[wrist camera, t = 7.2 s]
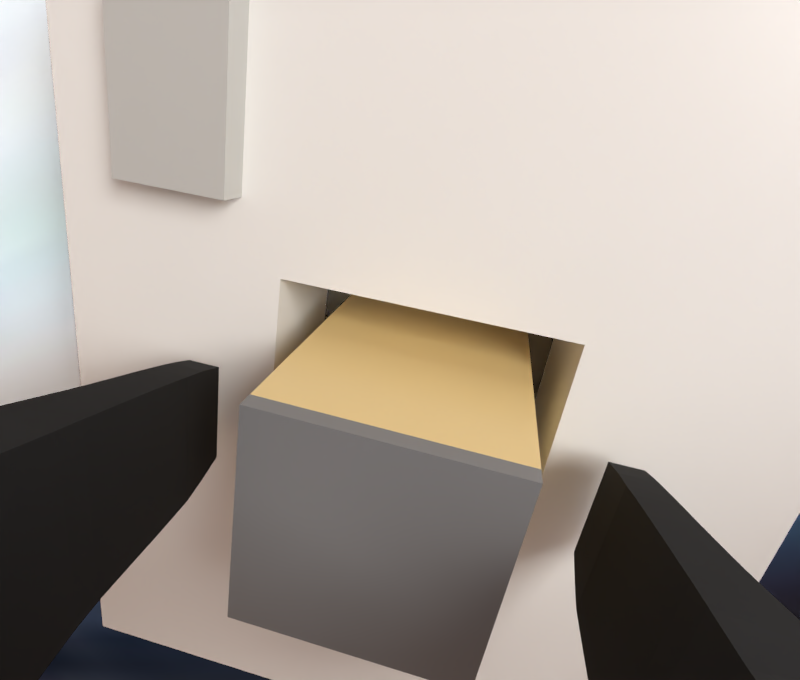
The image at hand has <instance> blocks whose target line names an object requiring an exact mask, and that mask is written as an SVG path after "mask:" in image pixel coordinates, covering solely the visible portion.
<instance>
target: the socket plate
mask: <svg viewBox="0 0 800 680" xmlns="http://www.w3.org/2000/svg"><path fill="white" fill-rule="evenodd" d="M46 10H47V21H48V32H49V43H50V54H51V65H52V76H53V87H54V98H55V109H56V120H57V131H58V142H59V152H60V163H61V174H62V185H63V196H64V207H65V218H66V229H67V240H68V251H69V262H70V273H71V284H72V294H73V305H74V316H75V327H76V338H77V349H78V360H79V371H80V382H81V386H84V385H88V384H92V383H96V382H99V381H103V380H107V379H110V378H114V377H118V376H122V375H125V374H129V373H133V372H137V371H140V370H144V369H148V368H152V367H156V366H160V365H164V364H169V363H174V362H179V361H186V360H192V361H196V362H200V363H204V364H208V365H212V366H216V367H219V385H218V424H217V457H216V459H215V460H214V462H213V464H212V465H211V467H210V468H209V470H208V471H207V473H206V474H205V476H204V477H203V479H202V481H201V482H200V483H199V485H198V486H197V488H196V489H195V491H194V492H193V493H192V495H191V496H190V498H189V499H188V501H187V502H186V503H185V504H184V505H183V506H182V508H181V509H180V510H179V511H178V512H177V513H176V515H175V516H174V517H173V518H172V519H171V520H170V521H169V523H168V524H167V525H166V526H165V527H164V528H163V529H162V531H161V532H160V533H159V534H158V535H157V536H156V537H155V538H154V540H153V541H152V542H151V543H150V544H149V545H148V546H147V547H146V549H145V550H144V551H143V552H142V553H141V554H140V555H139V556H138V557H137V559H136V560H135V561H134V562H133V563H132V564H131V565H130V566H129V568H128V569H127V570H126V571H125V572H124V573H123V574H122V575H121V577H120V578H119V579H118V580H117V581H116V582H115V583H114V584H113V585H112V587H111V588H110V589H109V590H108V591H107V592H106V593H105V594H104V596H103V597H102V598H101V599H100V600H101V611H102V622H103V626H105V627H108V628H111V629H114V630H117V631H120V632H123V633H127V634H130V635H133V636H136V637H139V638H142V639H146V640H149V641H152V642H155V643H158V644H161V645H164V646H168V647H171V648H174V649H177V650H180V651H183V652H187V653H190V654H193V655H196V656H199V657H202V658H205V659H209V660H212V661H215V662H218V663H221V664H224V665H228V666H231V667H234V668H237V669H240V670H243V671H246V672H250V673H253V674H256V675H259V676H262V677H265V678H269V679H272V680H427V679H424V678H421V677H418V676H414V675H411V674H408V673H405V672H402V671H398V670H395V669H392V668H389V667H386V666H382V665H379V664H376V663H373V662H370V661H366V660H363V659H360V658H357V657H354V656H350V655H347V654H344V653H341V652H338V651H335V650H331V649H328V648H325V647H322V646H319V645H315V644H312V643H309V642H306V641H303V640H299V639H296V638H293V637H290V636H287V635H283V634H280V633H277V632H274V631H271V630H267V629H264V628H261V627H258V626H255V625H251V624H248V623H245V622H242V621H239V620H236V619H232V618H229V617H227V616H228V598H229V580H230V563H231V545H232V527H233V509H234V492H235V474H236V456H237V439H238V421H239V404H240V403H241V402H242V401H243V400H244V399H245V398H247V397H248V396H249V395H250V394H251V393H252V392H253V391H254V390H255V389H256V388H257V387H258V386H259V385H260V384H261V383H262V382H263V381H264V380H265V379H266V378H267V377H268V376H269V375H270V374H271V373H272V372H273V371H274V370H275V369H276V368H277V367H278V366H279V365H280V364H281V363H282V362H283V361H284V360H285V359H286V358H287V357H288V356H289V355H290V354H291V353H292V352H293V351H294V350H295V349H296V348H297V347H298V346H300V345H301V344H302V343H303V342H304V341H305V340H306V339H307V338H308V337H309V336H310V335H311V334H312V333H313V332H314V331H315V330H316V329H317V328H318V327H319V326H320V325H321V324H322V323H323V322H324V321H325V313H326V303H327V294H328V289H329V290H334V291H339V292H343V293H348V294H353V295H357V296H362V297H366V298H371V299H376V300H380V301H385V302H389V303H394V304H399V305H403V306H408V307H412V308H417V309H422V310H426V311H431V312H435V313H440V314H445V315H449V316H454V317H458V318H463V319H468V320H472V321H477V322H481V323H486V324H491V325H495V326H500V327H504V328H509V329H514V330H518V331H523V332H527V333H532V334H537V335H541V336H546V337H550V338H554V339H553V343H552V346H551V349H550V353H549V356H548V359H547V363H546V366H545V369H544V373H543V376H542V379H541V383H540V386H539V389H538V393H537V396H536V399H535V410H536V420H537V430H538V440H539V450H540V460H541V470H542V480H543V485H542V488H541V491H540V493H539V496H538V499H537V502H536V505H535V508H534V511H533V514H532V517H531V520H530V522H529V525H528V528H527V531H526V534H525V537H524V540H523V543H522V546H521V548H520V551H519V554H518V557H517V560H516V563H515V566H514V569H513V572H512V575H511V577H510V580H509V583H508V586H507V589H506V592H505V595H504V598H503V601H502V604H501V606H500V609H499V612H498V615H497V618H496V621H495V624H494V627H493V630H492V633H491V635H490V638H489V641H488V644H487V647H486V650H485V653H484V656H483V659H482V662H481V664H480V667H479V670H478V673H477V676H476V679H475V680H588V677H587V671H586V665H585V659H584V654H583V648H582V642H581V636H580V630H579V624H578V617H577V611H576V596H575V574H574V550H575V548H576V545H577V543H578V540H579V537H580V535H581V532H582V529H583V527H584V524H585V522H586V519H587V516H588V514H589V511H590V508H591V506H592V503H593V501H594V498H595V495H596V493H597V490H598V488H599V485H600V482H601V480H602V477H603V474H604V472H605V469H606V467H607V464H608V462H612V463H616V464H620V465H624V466H628V467H632V468H636V469H641V470H645V471H646V472H647V473H648V474H650V475H651V476H652V477H653V478H654V479H655V480H656V481H657V482H659V483H660V484H661V485H662V486H663V487H664V488H665V489H666V490H667V491H668V492H669V493H670V494H671V495H672V496H673V497H674V498H675V499H676V500H677V501H678V502H679V503H680V504H681V505H682V506H683V507H684V508H685V509H686V510H687V511H688V512H689V514H690V515H691V516H692V517H693V518H694V519H695V520H696V521H697V522H698V523H699V524H700V525H701V526H702V527H703V528H704V529H705V530H706V531H707V532H708V533H709V534H710V535H711V536H712V537H713V538H714V539H715V540H716V541H717V542H718V543H719V544H720V545H721V546H722V547H723V548H724V549H725V550H726V551H727V552H728V553H729V554H730V555H731V556H732V557H733V558H734V559H735V560H736V561H737V562H738V563H739V564H740V565H741V566H742V567H743V568H744V569H745V570H746V571H747V572H748V573H750V574H751V575H752V576H753V577H754V578H755V579H756V580H757V581H758V582H759V581H760V580H761V578H762V576H763V575H764V573H765V571H766V569H767V568H768V566H769V564H770V563H771V561H772V559H773V557H774V556H775V554H776V552H777V551H778V549H779V547H780V545H781V544H782V542H783V540H784V539H785V537H786V535H787V533H788V532H789V530H790V528H791V527H792V525H793V523H794V521H795V520H796V518H797V516H798V515H799V513H800V0H46Z"/></svg>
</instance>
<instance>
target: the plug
mask: <svg viewBox="0 0 800 680" xmlns="http://www.w3.org/2000/svg"><path fill="white" fill-rule="evenodd" d="M542 485H543V480H542V470H541V460H540V450H539V440H538V430H537V420H536V410H535V400H534V390H533V380H532V370H531V360H530V349H529V339H528V333H527V332H523V331H518V330H514V329H509V328H504V327H500V326H495V325H491V324H486V323H481V322H477V321H472V320H468V319H463V318H458V317H454V316H449V315H445V314H440V313H435V312H431V311H426V310H422V309H417V308H412V307H408V306H403V305H399V304H394V303H389V302H385V301H380V300H376V299H371V298H366V297H362V296H357V295H353V294H351V295H350V296H349V297H348V298H347V299H346V300H345V301H344V302H343V303H342V304H341V305H340V306H339V307H338V308H337V309H336V310H335V311H334V312H333V313H332V314H331V315H330V316H329V317H328V318H327V319H326V320H325V321H324V322H323V323H322V324H321V325H320V326H319V327H318V328H317V329H316V330H315V331H314V332H313V333H312V334H311V335H310V336H309V337H308V338H307V339H306V340H305V341H304V342H303V343H302V344H301V345H300V346H298V347H297V348H296V349H295V350H294V351H293V352H292V353H291V354H290V355H289V356H288V357H287V358H286V359H285V360H284V361H283V362H282V363H281V364H280V365H279V366H278V367H277V368H276V369H275V370H274V371H273V372H272V373H271V374H270V375H269V376H268V377H267V378H266V379H265V380H264V381H263V382H262V383H261V384H260V385H259V386H258V387H257V388H256V389H255V390H254V391H253V392H252V393H251V394H250V395H249V396H248V397H247V398H245V399H244V400H243V401H242V402H241V403H240V404H239V421H238V439H237V456H236V474H235V492H234V509H233V527H232V545H231V563H230V580H229V598H228V616H227V617H229V618H232V619H236V620H239V621H242V622H245V623H248V624H251V625H255V626H258V627H261V628H264V629H267V630H271V631H274V632H277V633H280V634H283V635H287V636H290V637H293V638H296V639H299V640H303V641H306V642H309V643H312V644H315V645H319V646H322V647H325V648H328V649H331V650H335V651H338V652H341V653H344V654H347V655H350V656H354V657H357V658H360V659H363V660H366V661H370V662H373V663H376V664H379V665H382V666H386V667H389V668H392V669H395V670H398V671H402V672H405V673H408V674H411V675H414V676H418V677H421V678H424V679H427V680H475V679H476V676H477V673H478V670H479V667H480V664H481V662H482V659H483V656H484V653H485V650H486V647H487V644H488V641H489V638H490V635H491V633H492V630H493V627H494V624H495V621H496V618H497V615H498V612H499V609H500V606H501V604H502V601H503V598H504V595H505V592H506V589H507V586H508V583H509V580H510V577H511V575H512V572H513V569H514V566H515V563H516V560H517V557H518V554H519V551H520V548H521V546H522V543H523V540H524V537H525V534H526V531H527V528H528V525H529V522H530V520H531V517H532V514H533V511H534V508H535V505H536V502H537V499H538V496H539V493H540V491H541V488H542Z"/></svg>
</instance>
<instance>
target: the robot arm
mask: <svg viewBox="0 0 800 680" xmlns="http://www.w3.org/2000/svg"><path fill="white" fill-rule="evenodd" d="M218 385H219V367H216V366H212V365H208V364H204V363H200V362H196V361H192V360H186V361H179V362H174V363H169V364H164V365H160V366H156V367H152V368H148V369H144V370H140V371H137V372H133V373H129V374H125V375H122V376H118V377H114V378H110V379H107V380H103V381H99V382H96V383H92V384H88V385H84V386H81V387H77V388H73V389H69V390H65V391H61V392H57V393H52V394H48V395H44V396H40V397H36V398H32V399H27V400H23V401H19V402H15V403H11V404H7V405H2V406H0V680H38V679H39V678H40V676H41V675H42V674H43V672H44V671H45V670H46V668H47V667H48V666H49V664H50V663H51V662H52V660H53V659H54V658H55V656H56V655H57V654H58V652H59V651H60V649H61V648H62V647H63V645H64V644H65V643H66V641H67V640H68V639H69V637H70V636H71V635H72V633H73V632H74V631H75V629H76V628H77V627H78V625H79V624H80V623H81V622H82V621H83V619H84V618H85V617H86V616H87V614H88V613H89V612H90V611H91V610H92V608H93V607H94V606H95V605H96V604H97V602H98V601H99V600H100V599H101V598H102V597H103V596H104V594H105V593H106V592H107V591H108V590H109V589H110V588H111V587H112V585H113V584H114V583H115V582H116V581H117V580H118V579H119V578H120V577H121V575H122V574H123V573H124V572H125V571H126V570H127V569H128V568H129V566H130V565H131V564H132V563H133V562H134V561H135V560H136V559H137V557H138V556H139V555H140V554H141V553H142V552H143V551H144V550H145V549H146V547H147V546H148V545H149V544H150V543H151V542H152V541H153V540H154V538H155V537H156V536H157V535H158V534H159V533H160V532H161V531H162V529H163V528H164V527H165V526H166V525H167V524H168V523H169V521H170V520H171V519H172V518H173V517H174V516H175V515H176V513H177V512H178V511H179V510H180V509H181V508H182V506H183V505H184V504H185V503H186V502H187V501H188V499H189V498H190V496H191V495H192V493H193V492H194V491H195V489H196V488H197V486H198V485H199V483H200V482H201V481H202V479H203V477H204V476H205V474H206V473H207V471H208V470H209V468H210V467H211V465H212V464H213V462H214V460H215V459H216V457H217V424H218ZM574 574H575V596H576V611H577V617H578V624H579V630H580V636H581V642H582V648H583V654H584V659H585V665H586V671H587V677H588V680H800V620H799V619H798V618H797V617H796V616H795V615H793V614H792V613H791V612H790V611H789V610H788V609H787V608H786V607H785V606H784V605H783V604H781V603H780V602H779V601H778V600H777V599H776V598H775V597H774V596H773V595H772V594H771V593H769V592H768V591H767V590H766V589H765V588H764V587H763V586H762V585H761V584H760V583H759V582H758V581H757V580H756V579H755V578H754V577H753V576H752V575H751V574H750V573H748V572H747V571H746V570H745V569H744V568H743V567H742V566H741V565H740V564H739V563H738V562H737V561H736V560H735V559H734V558H733V557H732V556H731V555H730V554H729V553H728V552H727V551H726V550H725V549H724V548H723V547H722V546H721V545H720V544H719V543H718V542H717V541H716V540H715V539H714V538H713V537H712V536H711V535H710V534H709V533H708V532H707V531H706V530H705V529H704V528H703V527H702V526H701V525H700V524H699V523H698V522H697V521H696V520H695V519H694V518H693V517H692V516H691V515H690V514H689V512H688V511H687V510H686V509H685V508H684V507H683V506H682V505H681V504H680V503H679V502H678V501H677V500H676V499H675V498H674V497H673V496H672V495H671V494H670V493H669V492H668V491H667V490H666V489H665V488H664V487H663V486H662V485H661V484H660V483H659V482H657V481H656V480H655V479H654V478H653V477H652V476H651V475H650V474H648V473H647V472H646V471H645V470H641V469H636V468H632V467H628V466H624V465H620V464H616V463H612V462H608V464H607V467H606V469H605V472H604V474H603V477H602V480H601V482H600V485H599V488H598V490H597V493H596V495H595V498H594V501H593V503H592V506H591V508H590V511H589V514H588V516H587V519H586V522H585V524H584V527H583V529H582V532H581V535H580V537H579V540H578V543H577V545H576V548H575V550H574Z"/></svg>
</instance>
